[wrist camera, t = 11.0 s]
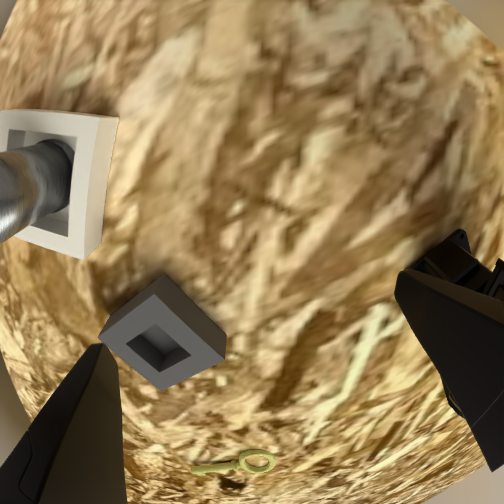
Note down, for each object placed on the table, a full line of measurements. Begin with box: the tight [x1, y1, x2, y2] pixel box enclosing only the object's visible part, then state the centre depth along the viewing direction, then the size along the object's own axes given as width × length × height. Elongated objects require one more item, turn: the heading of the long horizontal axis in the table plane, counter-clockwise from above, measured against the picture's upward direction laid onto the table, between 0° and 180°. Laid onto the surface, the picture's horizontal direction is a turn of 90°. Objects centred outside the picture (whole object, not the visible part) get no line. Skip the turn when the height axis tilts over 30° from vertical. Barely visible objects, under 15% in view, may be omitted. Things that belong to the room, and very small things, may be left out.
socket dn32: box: [97, 273, 227, 391], centre depth 21 cm, size 7×7×3 cm
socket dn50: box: [0, 109, 119, 260], centre depth 16 cm, size 9×9×3 cm
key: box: [191, 449, 276, 476], centre depth 33 cm, size 7×12×2 cm, turn 122°
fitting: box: [0, 138, 75, 244], centre depth 12 cm, size 5×5×9 cm
